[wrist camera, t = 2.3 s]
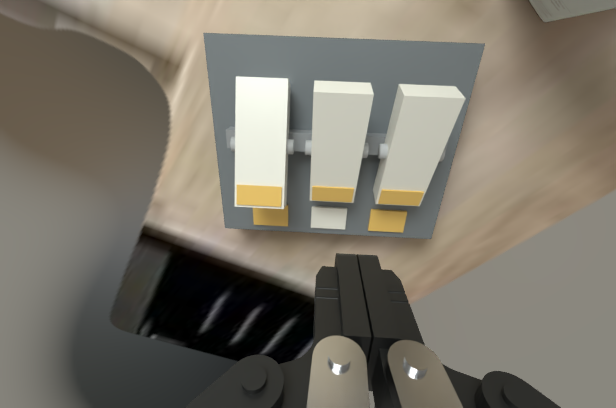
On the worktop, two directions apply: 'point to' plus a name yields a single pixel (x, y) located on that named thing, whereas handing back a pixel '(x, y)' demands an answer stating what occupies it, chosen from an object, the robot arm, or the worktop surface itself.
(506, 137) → the worktop surface
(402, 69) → the console
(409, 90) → the rocker
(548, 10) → the supplement box
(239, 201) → the rocker
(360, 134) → the rocker mid
